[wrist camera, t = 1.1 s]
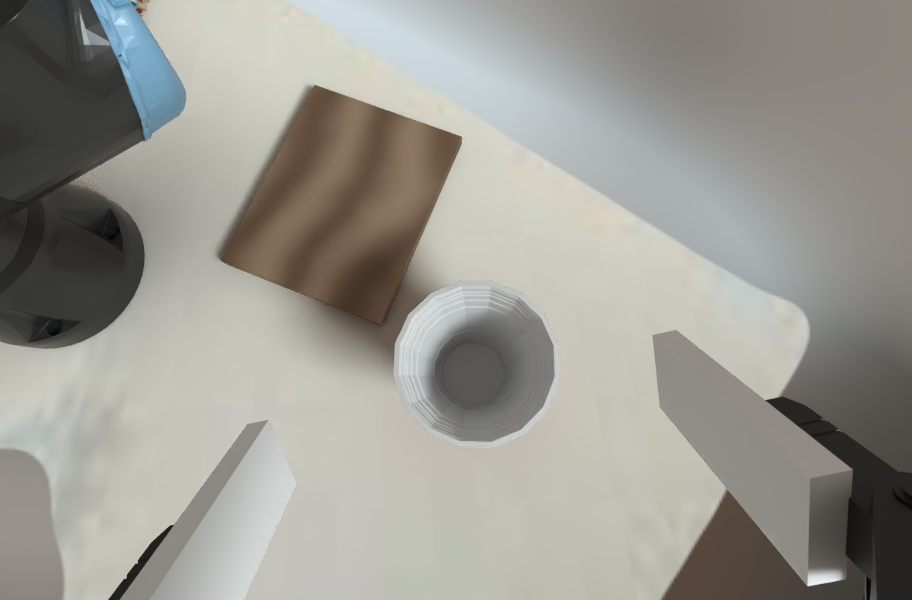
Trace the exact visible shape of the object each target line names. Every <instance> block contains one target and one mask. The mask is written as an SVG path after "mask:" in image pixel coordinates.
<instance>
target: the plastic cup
mask: <svg viewBox="0 0 912 600" xmlns="http://www.w3.org/2000/svg"><path fill="white" fill-rule="evenodd" d="M393 377H394V380H395V383H396V385H397V388H398V391H399V394H400V397H401V400H402V403H403V405H404V408H405V409H406V410H407V411H408V412H409V413H410V414H411V416H412V417H413V418H414V419H415V420H416V421H417V422H418V423H419V424H420V426H421V427H422V428H423V429H424V430H425V431H426V432H427V433H429V434H431V435H433V436H435V437H437V438H440V439H442V440H444V441H446V442H448V443H450V444H453V445H455V446H457V447H480V448H493V447H495V446H498V445H500V444H503V443H505V442H508V441H510V440H513V439H515V438H518V437H520V436H522V435H524V434H525V433H526V432H527V431H528V430H529V429H530V428H531V427H532V426H533V425H534V424H535V423H536V422H537V421H538V420H539V419H540V418H541V417H542V416H543V415H544V414H545V413H546V412H547V411H548V409H549V407H550V404H551V401H552V399H553V396H554V394H555V391H556V388H557V386H558V383H559V380H560V357H559V343H558V341H557V339H556V337H555V335H554V333H553V330H552V328H551V326H550V324H549V322H548V319H547V317H546V315H545V314H544V313H543V312H542V311H541V310H540V309H539V308H538V307H537V306H535V305H534V304H533V303H532V302H531V301H530V300H529V299H528V298H527V297H526V296H525V295H524V294H523V293H522V292H519V291H517V290H514V289H511V288H509V287H506V286H504V285H501V284H499V283H496V282H494V281H459V282H457V283H454V284H452V285H449V286H447V287H444V288H442V289H439V290H437V291H434V292H432V293H431V294H429V295H428V296H427V297H426V298H425V299H424V300H423V301H422V302H421V303H420V304H419V305H418V306H417V307H416V308H415V309H414V310H413V311H411V312H410V313H409V314H408V316H407V318H406V321H405V323H404V325H403V327H402V329H401V331H400V334H399V336H398V338H397V340H396V342H395V351H394V370H393Z"/></svg>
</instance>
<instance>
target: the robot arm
mask: <svg viewBox="0 0 912 600" xmlns="http://www.w3.org/2000/svg"><path fill="white" fill-rule="evenodd" d="M185 102H186V92H185V89H184V86H183V84H182V82H181V80H180V79H179V77H178V75H177V73H176V72H175V70H174V69H173V67H172V65H171V64H170V62H169V60H168V59H167V57H166V56H165V54H164V52H163V51H162V49H161V48H160V46H159V45H158V43H157V41H156V40H155V38H154V37H153V35H152V34H151V32H150V30H149V29H148V27H147V26H146V24H145V23H144V21H143V20H142V18H141V17H140V15H139V14H138V12H137V10H136V9H135V7H134V6H133V4H132V3H131V2H130V0H0V341H1V342H4V343H7V344H12V345H18V346H26V347H33V348H45V349H48V348H60V347H65V346H69V345H73V344H76V343H79V342H81V341H84V340H86V339H88V338H90V337H92V336H94V335H96V334H97V333H99V332H100V331H102V330H103V329H105V328H106V327H107V326H108V325H110V324H111V323H112V322H113V321H114V320H115V319H116V318H117V317H118V316H119V315H120V314H121V313H122V312H123V311H124V309H125V308H126V307H127V305H128V304H129V303H130V301H131V299H132V298H133V296H134V294H135V292H136V290H137V288H138V286H139V283H140V280H141V277H142V273H143V268H144V245H143V240H142V237H141V234H140V232H139V229H138V227H137V225H136V224H135V222H134V221H133V219H132V218H131V217H130V216H129V214H128V213H127V212H126V211H124V210H123V209H122V208H121V207H120V206H118V205H116V204H115V203H113V202H111V201H110V200H108V199H106V198H105V197H103V196H101V195H99V194H97V193H95V192H93V191H91V190H88V189H85V188H83V187H79V186H75V185H70V184H67V183H69V182H71V181H73V180H74V179H76V178H78V177H80V176H81V175H83V174H85V173H87V172H88V171H90V170H92V169H94V168H96V167H97V166H99V165H101V164H103V163H104V162H106V161H108V160H110V159H111V158H113V157H115V156H117V155H118V154H120V153H122V152H124V151H125V150H127V149H129V148H131V147H132V146H134V145H136V144H138V143H139V142H141V141H144V142H145V141H147V140H148V139H149V138H151V136H152V133H153V132H155V131H156V130H158V129H159V128H161V127H162V126H164V125H165V124H167V123H168V122H170V121H171V120H173V119H174V118H176V117H177V116H179V115H180V113H181V112H182V111H183V109H184V106H185ZM653 344H654V354H655V364H656V373H657V383H658V393H659V403H660V408H661V409H662V410H663V411H664V413H665V414H666V415H667V416H668V418H669V419H670V420H671V421H672V422H673V424H674V425H675V426H676V427H677V428H678V430H679V431H680V432H681V433H682V435H683V436H684V437H685V438H686V439H687V441H688V442H689V443H690V444H691V445H692V447H693V448H694V449H695V450H696V452H697V453H698V454H699V455H700V456H701V458H702V459H703V460H704V461H705V462H706V464H707V465H708V466H709V467H710V468H711V470H712V471H713V472H714V473H715V475H716V476H717V477H718V478H719V479H720V481H721V482H722V483H723V484H724V485H725V487H726V488H727V489H728V490H729V492H730V493H731V494H732V495H733V496H734V498H735V499H736V500H737V501H738V502H739V504H740V505H741V506H742V507H743V508H744V510H745V511H746V512H747V513H748V515H749V516H750V517H751V518H752V519H753V521H754V522H755V523H756V524H757V526H758V527H759V528H760V529H761V530H762V532H763V533H764V534H765V535H766V536H767V538H768V539H769V540H770V541H771V542H772V544H773V545H774V546H775V547H776V549H777V550H778V551H779V552H780V553H781V555H782V556H783V557H784V558H785V559H786V561H787V562H788V563H789V564H790V566H791V567H792V568H793V569H794V570H795V572H796V573H797V574H798V575H799V576H800V578H801V579H802V580H803V581H804V583H805V584H806V585H807V586H811V585H817V584H822V583H827V582H833V581H838V580H844V579H846V572H847V557H849V558H850V559H851V561H852V562H853V563H854V564H855V565H856V566H857V567H858V568H859V569H860V570H861V571H862V572H863V573H864V574H865V586H864V598H863V600H912V473H906V472H898V471H897V470H895V469H894V468H892V467H891V466H890V465H888V464H887V463H885V462H884V461H883V460H881V459H880V458H878V457H877V456H876V455H874V454H873V453H871V452H870V451H868V450H867V449H866V448H864V447H863V446H862V445H860V444H859V443H857V442H856V441H855V440H853V439H852V438H850V437H849V436H848V435H846V434H845V433H843V432H840V431H839V429H838V428H836V427H835V426H834V425H832V424H831V423H829V422H828V421H827V422H826V421H825V420H824V418H822V417H821V416H820V415H818V414H817V413H815V412H814V411H813V410H811V409H810V408H808V407H807V406H805V405H803V404H800V403H798V402H795V401H793V400H790V399H787V398H785V397H779V398H774V399H769V400H764V399H763V398H761V397H760V396H759V395H758V394H756V393H755V392H754V391H753V390H751V389H750V388H749V387H748V386H746V385H745V384H744V383H742V382H741V381H740V380H739V379H737V378H736V377H735V376H734V375H732V374H731V373H730V372H729V371H727V370H726V369H725V368H724V367H722V366H721V365H720V364H718V363H717V362H716V361H715V360H713V359H712V358H711V357H710V356H708V355H707V354H706V353H705V352H703V351H702V350H701V349H699V348H698V347H697V346H696V345H694V344H693V343H692V342H691V341H689V340H688V339H687V338H686V337H684V336H683V335H682V334H680V333H679V332H678V331H677V330H675V331H670V332H666V333H661V334H657V335H653ZM295 486H296V482H295V479H294V477H293V475H292V473H291V470H290V468H289V466H288V463H287V461H286V459H285V456H284V454H283V452H282V449H281V447H280V445H279V443H278V440H277V438H276V436H275V433H274V431H273V429H272V426H271V424H270V422H269V420H265V421H261V422H256V423H252V424H247V426H246V427H245V428H244V430H243V431H242V433H241V434H240V435H239V437H238V438H237V439H236V441H235V442H234V444H233V445H232V446H231V448H230V449H229V450H228V452H227V453H226V455H225V456H224V457H223V459H222V460H221V461H220V463H219V464H218V466H217V467H216V468H215V470H214V471H213V472H212V474H211V475H210V477H209V478H208V479H207V481H206V482H205V483H204V485H203V486H202V488H201V489H200V490H199V492H198V493H197V494H196V496H195V497H194V499H193V500H192V501H191V503H190V504H189V505H188V507H187V508H186V510H185V511H184V512H183V514H182V515H181V516H180V518H179V519H178V521H177V522H176V523H175V525H171V526H169V527H168V528H167V529H166V530H165V531H164V532H162V533H161V534H160V535H159V536H158V537H157V538H156V539H155V540H154V541H153V542H151V544H150V545H149V546H148V548H147V549H146V550H145V552H144V553H143V554H142V556H141V557H140V558H139V560H138V564H135V565H134V566H133V568H132V569H131V570H130V572H129V573H128V574H127V578H126V579H124V580H123V581H122V582H121V584H120V585H119V586H118V588H117V589H116V590H115V592H114V593H113V594H112V596H111V597H110V598H109V600H244V598H245V596H246V594H247V592H248V590H249V587H250V585H251V583H252V581H253V578H254V576H255V574H256V572H257V570H258V567H259V565H260V563H261V561H262V559H263V556H264V554H265V552H266V550H267V548H268V545H269V543H270V541H271V539H272V536H273V534H274V532H275V530H276V528H277V525H278V523H279V521H280V519H281V517H282V514H283V512H284V510H285V508H286V505H287V503H288V501H289V499H290V497H291V494H292V492H293V490H294V488H295Z"/></svg>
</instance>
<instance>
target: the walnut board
mask: <svg viewBox="0 0 912 600" xmlns="http://www.w3.org/2000/svg"><path fill="white" fill-rule="evenodd" d="M461 144H462V137H461V136H458V135H455V134H452V133H450V132H447V131H444V130H441V129H438V128H435V127H433V126H430V125H427V124H424V123H421V122H418V121H416V120H413V119H410V118H407V117H404V116H401V115H398V114H396V113H393V112H390V111H387V110H384V109H381V108H379V107H376V106H373V105H370V104H367V103H364V102H362V101H359V100H356V99H353V98H350V97H347V96H345V95H342V94H339V93H336V92H333V91H330V90H328V89H325V88H322V87H319V86H316V85H314V87H313V89H312V91H311V93H310V95H309V96H308V98H307V100H306V102H305V104H304V106H303V108H302V109H301V111H300V113H299V115H298V117H297V119H296V121H295V122H294V124H293V126H292V128H291V130H290V132H289V134H288V135H287V137H286V139H285V141H284V143H283V145H282V147H281V149H280V150H279V152H278V154H277V156H276V158H275V160H274V162H273V163H272V165H271V167H270V169H269V171H268V173H267V175H266V176H265V178H264V180H263V182H262V184H261V186H260V188H259V189H258V191H257V193H256V195H255V197H254V199H253V201H252V202H251V204H250V206H249V208H248V210H247V212H246V214H245V216H244V217H243V219H242V221H241V223H240V225H239V227H238V229H237V230H236V232H235V234H234V236H233V238H232V240H231V242H230V243H229V245H228V247H227V249H226V251H225V253H224V255H223V256H222V258H221V261H222V262H224V263H226V264H227V265H230V266H232V267H235V268H238V269H240V270H243V271H245V272H248V273H250V274H253V275H255V276H258V277H260V278H263V279H265V280H268V281H270V282H273V283H276V284H278V285H281V286H283V287H286V288H288V289H291V290H293V291H296V292H298V293H301V294H303V295H306V296H308V297H311V298H313V299H316V300H319V301H321V302H324V303H326V304H329V305H331V306H334V307H336V308H339V309H341V310H344V311H346V312H349V313H351V314H354V315H357V316H359V317H362V318H364V319H367V320H369V321H372V322H374V323H377V324H379V325H383V323H384V320H385V318H386V316H387V313H388V311H389V309H390V307H391V304H392V302H393V300H394V297H395V295H396V293H397V291H398V288H399V286H400V284H401V281H402V279H403V277H404V275H405V272H406V270H407V268H408V265H409V263H410V261H411V259H412V256H413V254H414V252H415V249H416V247H417V245H418V243H419V240H420V238H421V236H422V233H423V231H424V229H425V226H426V224H427V222H428V220H429V217H430V215H431V213H432V210H433V208H434V206H435V204H436V201H437V199H438V197H439V194H440V192H441V190H442V188H443V185H444V183H445V181H446V178H447V176H448V174H449V172H450V169H451V167H452V165H453V162H454V160H455V158H456V156H457V153H458V151H459V149H460V146H461Z"/></svg>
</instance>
